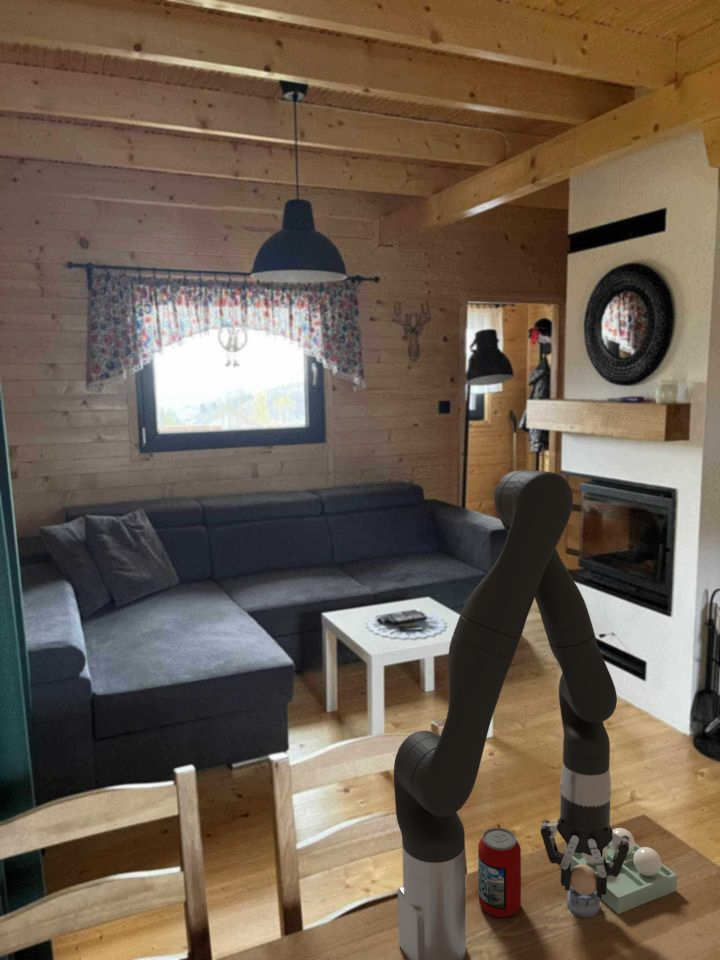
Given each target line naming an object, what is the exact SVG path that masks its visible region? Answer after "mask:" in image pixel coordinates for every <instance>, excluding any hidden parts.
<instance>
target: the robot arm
mask: <svg viewBox="0 0 720 960" xmlns="http://www.w3.org/2000/svg"><path fill="white" fill-rule="evenodd" d="M495 487H496V488H495V492H494V498H493V500H494V507H495V510H496V513H497V515H498V517H499V519H500V522H501V524H502V525H503V528H504V529H505V532H506V534H507V536H506V539H505V542H504V545H503V547H502V549H501V551H500V552H501V553H500V554H499V556H498V558H497V560H496V561H495V563H494V565H492V567H491V569H490V570H489V571H488V573H486V575H485V576H484V577H483V578H482V579H481V580H480V582H479V583H478V585H477V586H476V587H475V588H474V589H473V591H472V592H471V594H470V595H469V596H468V598H467V600H466V601H465V604H464V605H463V607H462V609H461V611H460V615H459V618H458V620H457V623H456V625H455V628H454V630H453V633H452V636H451V640H450V643H449V648H448V666H447V668H448V669H447V670H448V671H447V672H448V692H449V693H448V700H449V701H448V709H447V712H446V713H447V715H446V718H445V722H444V725H443V728H442V731H441V734H438V733H436V732H434V731H430V730H419V731H415V732H413V733H412V734H410V735H408V736H407V737H406V738H405V739H404V740H403V741H402V743H401V744H400V746H399V747H398V749H397V752H396V755H395V759H394V763H393V764H394V765H393V787H394V803H395V804H394V805H395V815H396V820H397V825H398V827H399V831H400V834H401V845H402V851H401V852H402V886H400V887H398V889H397V902H398V903H397V906H398V908H397V909H398V910H397V911H398V915H397V916H398V944H399V947H400V949H401V950H402V951H403V953H404V954H405V956H406V958H407V959H408V960H464V958H465V957H466V953H467V948H466V947H467V945H466V943H467V942H466V941H467V940H466V939H467V935H466V928H467V927H466V843H465V841H466V840H465V839H466V837H465V836H466V835H465V827H464V825H463V822H462V820H461V818H460V816H459V814H458V813H457V812H458V811H460V810H461V809H462V808H463V806H465V804H466V803H467V801H468V799H469V797H470V796H471V793H472V792H473V789H474V787H475V783H476V780H477V777H478V774H479V773H478V772H479V769H480V766H481V761H482V759H483V757H482V756H483V752H484V750H485V749H484V748H485V747H486V746H485V745H486V741H487V737H488V734H489V730H490V725H491V722H492V720H493V716H494V713H495V711H496V707H497V704H498V700H499V699H500V695H501V693H502V692H501V691H502V688H503V685H504V684H505V680H506V678H507V677H506V676H507V675H508V673H509V670H510V667H511V665H512V662H513V661H514V660H513V659H514V658H515V654H516V652H517V649H518V646H519V643H520V641H521V637H522V635H523V632H524V627H525V625H526V623H527V619H528V616H529V614H530V610H531V609H532V605H533V604H534V601H535V603H536V606H537V608H538V611H539V615H540V618H541V621H542V624H543V629H544V633H545V634H546V638H547V641H548V644H549V647H550V650H551V652H552V654H553V656H554V658H555V659H556V661H557V663H558V665H559V667H560V669H561V672H562V673H561V675H560V678H559V684H558V700H559V709H560V717H561V723H562V728H563V729H562V730H563V738H562V739H563V740H562V741H563V742H562V764H561V765H562V767H561V772H560V783H559V788H560V805H559V806H560V807H559V808H560V814H559V815H560V816H559V819H558V820H557V822H550V821H549V820H546V819H544V820H543V821H542V823H541V829H540V835H541V837H542V841H543V844H544V847H545V852H546V855H547V858H548V861H549V862H550V863H551V864H557V865H558V866H559V867H560V885H561V886H563V887H564V891H566V892H567V891H570V889H571V883H570V872H571V863H570V861H571V859H572V857H573V854H574V852H576V853H585V854H587V855H590V856H592V857H593V860H594V863H595V865H596V867H597V871H598V875H597V897H598V898H599V899H600V898H602V895H605V894H606V891H607V877H608V876H610V875H612V876H614V877H617V876H618V875H619V873H620V870H621V868H622V865H623V863H624V860H625V858H626V855H627V853H628V851H629V840H630V839H629V837H628V836H625V835H624V836H622V837H620V836H618V835H616V834H614V833H613V831H612V830H613V829H612V827H611V825H610V824H611V823H610V822H611V795H612V790H611V785H612V783H611V772H610V758H611V757H610V755H611V750H610V749H611V743H610V738H609V734H608V731H607V730H606V727H605V725H604V722H605V721H607V720H608V719H610V718H611V717H612V715H613V714H614V712H615V711H616V707H617V702H618V696H617V695H618V694H617V689H616V686H615V684H614V681H613V678H612V676H611V673H610V671H609V668H608V666H607V664H606V662H605V659H604V656H603V655H602V653H601V651H600V648H599V645H598V643H597V637H596V634H595V630H594V626H593V623H592V619H591V617H590V616H591V615H590V613H589V610H588V607H587V604H586V601H585V599H584V597H583V595H582V593H581V591H580V589H579V587H578V586H577V584H576V582H575V580H574V579H573V577H572V576H571V574H570V572H569V571H568V569H567V567H566V565H565V564H564V562H563V561H562V558H561V556H560V554H559V552H558V550H557V546H558V544H559V541H560V540H561V537H562V535H563V534H564V531H565V529H566V527H567V524H568V523H569V521H570V517H571V514H572V511H573V504H574V498H573V496H574V495H573V492H572V488H571V486H570V484H569V482H568V480H566V478H564V476H562V475H561V474H558V473H557V472H554V471H545V470H544V471H543V470H528V469H527V470H526V469H521V470H520V469H519V470H514V471H511V472H508V473H506V474H505V475H504V476H502V478H501V479H500V481H498V483H497V486H495ZM557 832H558V833H559V835H560V836H561V838H562V839H563V841H564V842H565V846H564V850H563V853H562V852H560V851H559V849H558V845H557V841H556V834H557ZM610 842H613V844H614V850H615V851H616V853H615V855H614V858H613V860H612V862H611V863H607V862H606V859H605V855H604V848H605V847H606V846H607V845H608V844H609V843H610Z"/></svg>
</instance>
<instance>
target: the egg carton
mask: <svg viewBox="0 0 720 960" xmlns="http://www.w3.org/2000/svg"><path fill="white" fill-rule="evenodd" d="M606 847H607V851H608V856H607V859H606V862H607V863H611V862H612V860H613V858H614V855H615V853H614V852H613V851H612V850H611V848H610V846H609V844H608V845H607V846H606ZM639 848H642V847H641V846H640V845H638V844H637V843H635V847H634V850H633V851H632V852H631V853H630V854H629V855H626V858H625V860H624V863H623V865H622V868H621V870H620V873H619V875H618V876H617V877H614V876H612V875H610V876H608V877H607V891H606V894H605V895H602V898H599V899H600V900H601V901H603V902H604V903H605V905H606V906H608V907H609V908H610V909H611V910H612V911H614V913H616V914H617V915H620V914H622V913H625V912H627V911H630V910H632V909H635V908H637V907H639V906H643V905H645V904H647V903H650V902H651V901H654V900H658V899H659V898H662V897H665V896H667V895H670V894H672V893H674V892H677V888H678V887H677V882H678V875H677V873H675V872H674V871H673V870H671V868H669V867H667V866H666V865H665V864H663V863H662V862H661V864H662V865H661V870H660V871H659V873H658V874H657V875H655V876H651V877H648V876H644V875H642V874H641V873H640V872H639V871H638V870H637V869H636V867H635V865H634V862H633V857H634V854H635V852H636V851H637V850H638V849H639ZM570 863H571V870H572V869H573V868H574V867H575V866H576V865H579V864H584V865H588V866H589V867H591V868H592V869H593V870H594V871H595V873H596V874H597V875H598V871H597V867H596V866H594V865H591V864H589V863H587V862H586V861H585V860H584V858H583V856H582V854H581V853H576V852H574V854H573V857H572V859H571V861H570ZM596 892H597V889H596Z"/></svg>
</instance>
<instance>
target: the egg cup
mask: <svg viewBox="0 0 720 960" xmlns="http://www.w3.org/2000/svg"><path fill="white" fill-rule="evenodd" d="M566 897H567V900H566V902H567V903H566V905H567V908H568V910H569V911H570V912H571V913H572V914H573V915H575V916H576V917H580V918H587V919H589V918H593V917H596V916H598V914H599V913H600V904H601V902H600V900H601V899H600V898H598V897H597V892H596V891H595V892H594V893H592V894H591V895H581V894H579V893H577V892H576V891H575V890H574V889H573V888H572V886H570V891H568V892H567V894H566Z"/></svg>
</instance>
